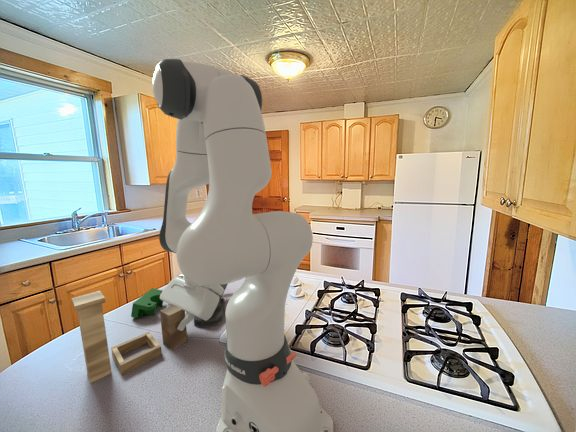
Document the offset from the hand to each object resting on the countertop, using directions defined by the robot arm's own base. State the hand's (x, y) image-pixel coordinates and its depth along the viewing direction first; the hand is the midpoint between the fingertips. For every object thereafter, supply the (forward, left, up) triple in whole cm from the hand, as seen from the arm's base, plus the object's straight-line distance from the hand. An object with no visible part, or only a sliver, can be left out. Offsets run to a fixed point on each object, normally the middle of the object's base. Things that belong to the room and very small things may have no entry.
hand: (171, 325), depth 68 cm
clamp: (+23, -2, -6) cm, 24 cm away
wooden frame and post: (+2, +11, -5) cm, 13 cm away
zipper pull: (+10, -19, -6) cm, 22 cm away
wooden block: (0, -1, -5) cm, 5 cm away
